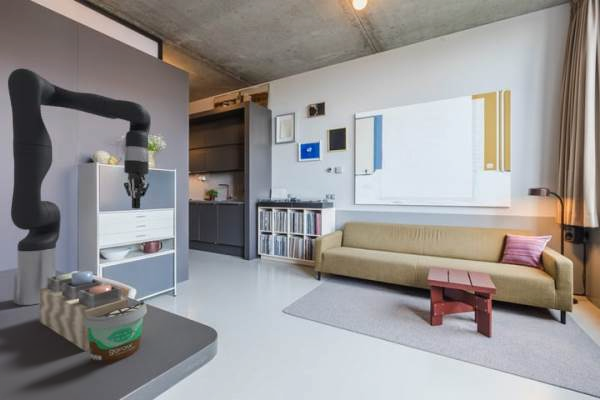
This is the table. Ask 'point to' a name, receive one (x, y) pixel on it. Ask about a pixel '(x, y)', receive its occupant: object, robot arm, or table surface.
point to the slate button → (82, 278)
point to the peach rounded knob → (99, 289)
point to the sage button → (64, 276)
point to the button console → (76, 307)
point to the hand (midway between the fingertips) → (135, 208)
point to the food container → (115, 333)
